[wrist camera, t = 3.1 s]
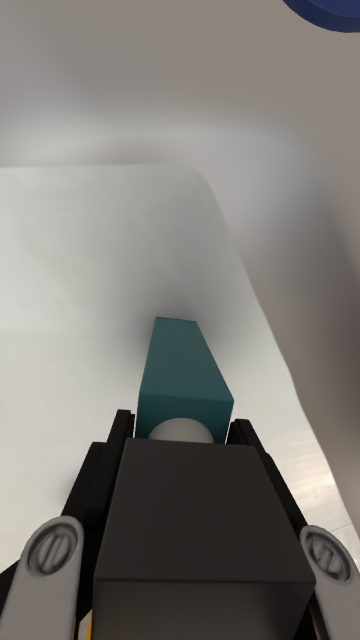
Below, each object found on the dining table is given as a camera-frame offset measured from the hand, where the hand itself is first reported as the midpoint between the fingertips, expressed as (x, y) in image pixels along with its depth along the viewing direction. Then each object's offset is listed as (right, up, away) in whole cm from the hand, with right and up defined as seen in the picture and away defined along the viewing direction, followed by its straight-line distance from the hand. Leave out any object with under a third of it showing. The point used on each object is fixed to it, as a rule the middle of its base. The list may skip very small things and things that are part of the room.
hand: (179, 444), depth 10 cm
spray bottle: (-1, +3, +13) cm, 13 cm away
